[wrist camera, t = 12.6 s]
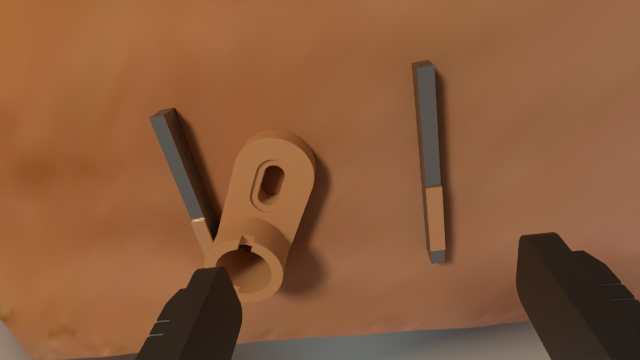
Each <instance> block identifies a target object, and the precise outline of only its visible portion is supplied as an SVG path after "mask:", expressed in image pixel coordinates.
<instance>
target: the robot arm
mask: <svg viewBox="0 0 640 360" xmlns="http://www.w3.org/2000/svg"><path fill="white" fill-rule="evenodd" d="M516 286H517V292H518V295H519V299H520V301H521V303H522V306H523V307H524V309H525V311H526V313H527V315H528V317H529V319H530V321H531V322H532V324H533V326H534V328H535V330H536V332H537V334H538V336H539V337H540V339H541V341H542V343H543V345H544V347H545V349H546V351H547V352H548V354H549V356H550V358H551V360H640V302H639V301H638V300H635V299H634V296H633V295H632V293H631V292H630V291H629V290H628V289H627V288H626V287H625V286H624V285H621V281H620V280H619V279H618V278H617V277H616V276H615V274H614V273H613V272H612V271H611V270H610V269H609V268H608V267H607V266H606V264H604V263H603V262H601V261H599V260H598V259H596V258H594V257H593V256H591V255H590V254H588V253H586V252H585V251H583V250H582V251H571V250H570V249H569V247H568V246H567V245H566V244H565V242H564V241H563V240H562V239H561V237H560V236H559V235H558V234H556V233H554V232H550V233H541V234H532V235H523V236H521V237H520V240H519V248H518V261H517V273H516ZM241 324H242V307H241V303H240V301H239V298H238V296H237V293H236V291H235V288H234V286H233V283H232V281H231V278H230V276H229V273H228V271H227V269H226V268H225V267H223V266H221V267H212V268H202V269H197V270H196V271H195V272H194V274H193V276H192V278H191V280H190V282H189V284H188V286H187V288H185V289H180V290H179V291H178V292H177V293H176V294H175V295H174V296H173V297H172V298H171V299H170V300H169V301H168V302H167V303H166V304H165V306H164V308H163V310H162V312H161V314H160V315H159V317H158V319H157V323H155V325H154V326H153V328H152V330H151V332H150V336H149V337H147V339H146V341H145V343H144V345H143V346H142V348H141V350H140V352H139V354H138V355H137V358H136V359H135V360H231V358H232V354H233V351H234V348H235V345H236V341H237V338H238V335H239V331H240V328H241Z"/></svg>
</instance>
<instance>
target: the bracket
mask: <svg viewBox="0 0 640 360" xmlns="http://www.w3.org/2000/svg"><path fill="white" fill-rule="evenodd" d="M271 165H276V166H279V167H280V168H282V169H283V171H284V173H285V177H284V180H283V183H282V186H281V189H280V191H279V193H277V194H276V195H268V194H266V193H265V192H264V191H263V190H262V186H261V185H262V181H263V178H264V174H265V171H266V168H267V167H269V166H271ZM315 171H316V162H315V158H314V155H313V152H312V150H311V149H310V147H309V146H308V144H307V143H306V142H305V141H304V140H303V139H302V138H300V137H299V136H297V135H295V134H294V133H291V132H289V131H285V130H280V129H269V130H264V131H261V132H259V133H257V134H255V135H253V136H252V137H251V138H250V139H249V140H248V141H247V142H246V143H245V145H244V146H243V148H242V150H241V151H240V153H239V154H238V156H237V158H236V161H235V164H234V168H233V172H232V176H231V180H230V184H229V188H228V192H227V196H226V200H225V204H224V209H223V213H222V217H221V221H220V225H219V229H218V233H217V236H216V238H215V240H214V242H213V244H212V246H211V248H210V250H209V252H208V254H207V256H206V258H205V261H204V268H212V267H221V266H223V267H225V268H226V269H227V271H228V273H229V276H230V278H231V281H232V283H233V286H234V288H235V291H236V293H237V294H238V295H237V296H238V298H239V301H242V302H255V301H260V300H264V299H266V298H268V297H270V296H272V295H273V294H274V293H275V292H276V291H277V290H278V289H279V288H280V286H281V284H282V280H283V275H284V270H285V265H286V260H287V256H288V253H289V250H290V248H291V245H292V242H293V239H294V237H295V234H296V231H297V229H298V226H299V223H300V220H301V218H302V215H303V212H304V210H305V207H306V204H307V201H308V199H309V196H310V193H311V191H312V188H313V184H314V178H315ZM239 245H250V246H252V249H251V252H254V253H256V254H253V253H250V252H247V251H245V250H243V249H242V248H240V247H239Z"/></svg>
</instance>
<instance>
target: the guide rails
mask: <svg viewBox="0 0 640 360" xmlns="http://www.w3.org/2000/svg"><path fill="white" fill-rule="evenodd" d="M412 71H413V83H414V95H415V108H416V120H417V132H418V145H419V157H420V169H421V182H422V194H423V206H424V219H425V231H426V243H427V251H428V254H429V257H430V260H431V263H432V264H433V263H442V262H445V251H444V250H445V231H444V212H443V194H442V185H441V178H440V160H439V142H438V124H437V106H436V88H435V70H434V65H433V64H432V63H431V62H430V61H428V60H427V61H422V62H417V63H412ZM149 119H150V121H151V123H152V126H153V128H154V131H155V133H156V135H157V138H158V140H159V143H160V145H161V148H162V150H163V152H164V155H165V157H166V160H167V162H168V164H169V167H170V169H171V172H172V174H173V176H174V179H175V181H176V184H177V186H178V189H179V191H180V193H181V196H182V198H183V201H184V203H185V205H186V208H187V210H188V213H189V215H190V217H191V220H192V221H191V225H192V227H193V230H194V232H195V234H196V237H197V239H198V242H199V244H200V246H201V249H202V251H203V254H204V256H205V258H206V256H207V254H208V252H209V250H210V248H211V246H212V244H213V242H214V240H215V238H216V236H217V233H218V229H219V225H218V223H217V220H216V217H215V215H214V212H213V210H212V207H211V204H210V202H209V199H208V196H207V194H206V191H205V188H204V186H203V183H202V181H201V178H200V175H199V173H198V170H197V167H196V165H195V162H194V159H193V157H192V154H191V151H190V149H189V146H188V144H187V141H186V138H185V136H184V133H183V130H182V128H181V125H180V122H179V120H178V117H177V115H176V112H175V109H174V108H171V109H166V110H161V111H159V112H158V113H156V114H155V115H153V116H152V117H150V118H149Z"/></svg>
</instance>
